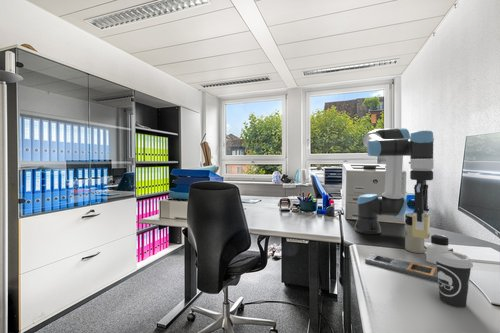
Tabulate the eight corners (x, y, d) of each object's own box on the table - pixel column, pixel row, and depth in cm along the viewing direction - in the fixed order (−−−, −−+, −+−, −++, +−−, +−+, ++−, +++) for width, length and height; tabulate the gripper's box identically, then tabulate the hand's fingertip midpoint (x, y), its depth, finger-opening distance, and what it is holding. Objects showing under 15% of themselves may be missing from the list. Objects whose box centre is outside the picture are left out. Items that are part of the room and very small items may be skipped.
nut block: (415, 233, 102) (415, 213, 102) (429, 236, 98) (429, 214, 98) (412, 236, 98) (412, 215, 98) (427, 238, 95) (427, 217, 95)
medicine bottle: (444, 267, 103) (444, 239, 103) (426, 261, 110) (426, 234, 109) (453, 264, 107) (453, 236, 106) (434, 258, 113) (434, 232, 113)
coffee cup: (476, 314, 72) (476, 264, 72) (435, 304, 77) (436, 257, 77) (468, 298, 80) (469, 253, 80) (432, 290, 85) (432, 248, 85)
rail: (371, 256, 116) (371, 252, 116) (441, 273, 98) (441, 269, 98) (365, 262, 109) (365, 258, 109) (438, 282, 91) (438, 277, 91)
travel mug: (425, 250, 123) (425, 214, 123) (422, 254, 117) (423, 217, 117) (407, 246, 129) (407, 212, 128) (403, 250, 123) (403, 215, 122)
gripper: (415, 169, 107) (414, 222, 107) (405, 170, 94) (404, 231, 94) (436, 169, 102) (436, 225, 102) (429, 170, 89) (428, 235, 89)
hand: (421, 228), depth 98 cm, fingers closed on nut block, 5 cm apart
